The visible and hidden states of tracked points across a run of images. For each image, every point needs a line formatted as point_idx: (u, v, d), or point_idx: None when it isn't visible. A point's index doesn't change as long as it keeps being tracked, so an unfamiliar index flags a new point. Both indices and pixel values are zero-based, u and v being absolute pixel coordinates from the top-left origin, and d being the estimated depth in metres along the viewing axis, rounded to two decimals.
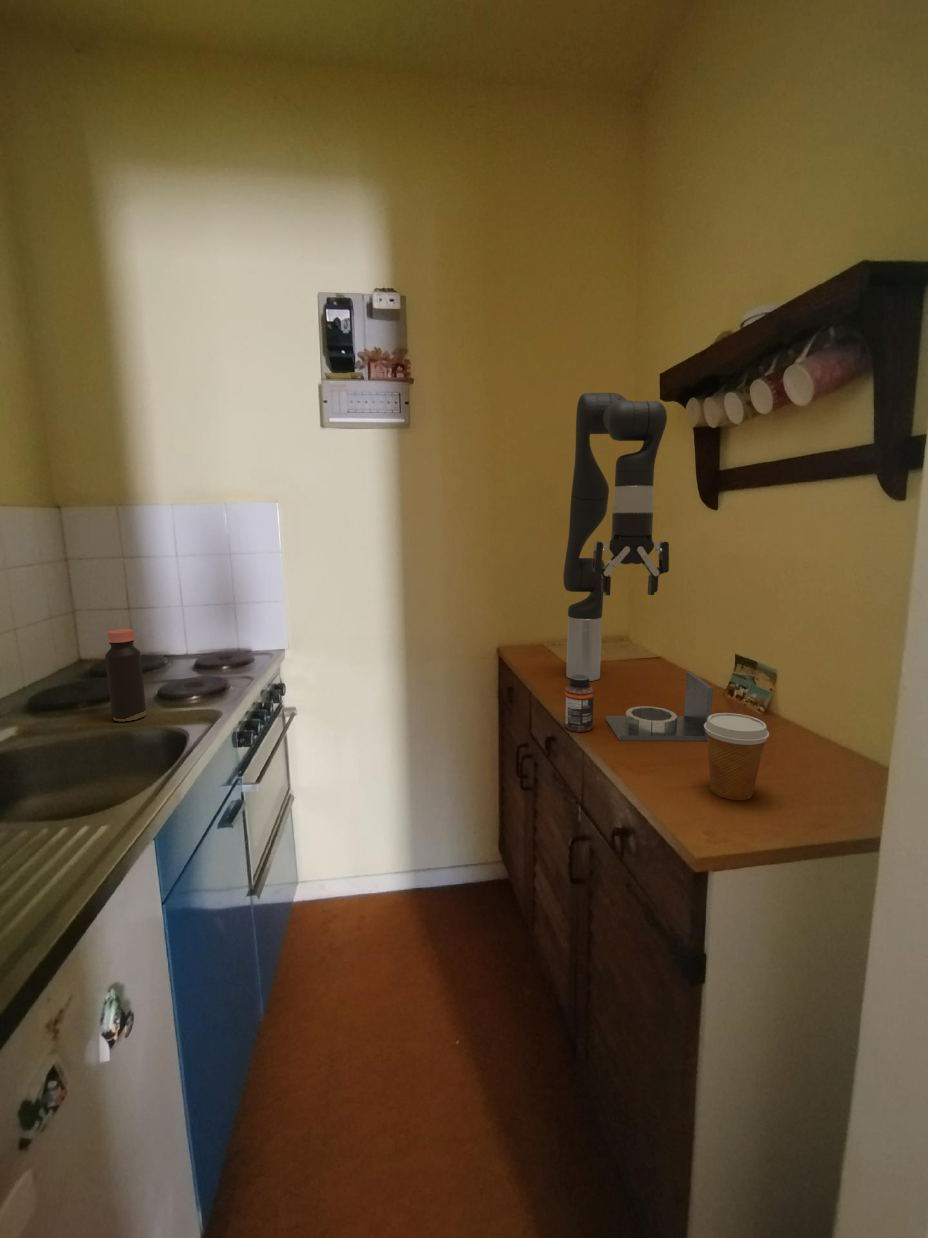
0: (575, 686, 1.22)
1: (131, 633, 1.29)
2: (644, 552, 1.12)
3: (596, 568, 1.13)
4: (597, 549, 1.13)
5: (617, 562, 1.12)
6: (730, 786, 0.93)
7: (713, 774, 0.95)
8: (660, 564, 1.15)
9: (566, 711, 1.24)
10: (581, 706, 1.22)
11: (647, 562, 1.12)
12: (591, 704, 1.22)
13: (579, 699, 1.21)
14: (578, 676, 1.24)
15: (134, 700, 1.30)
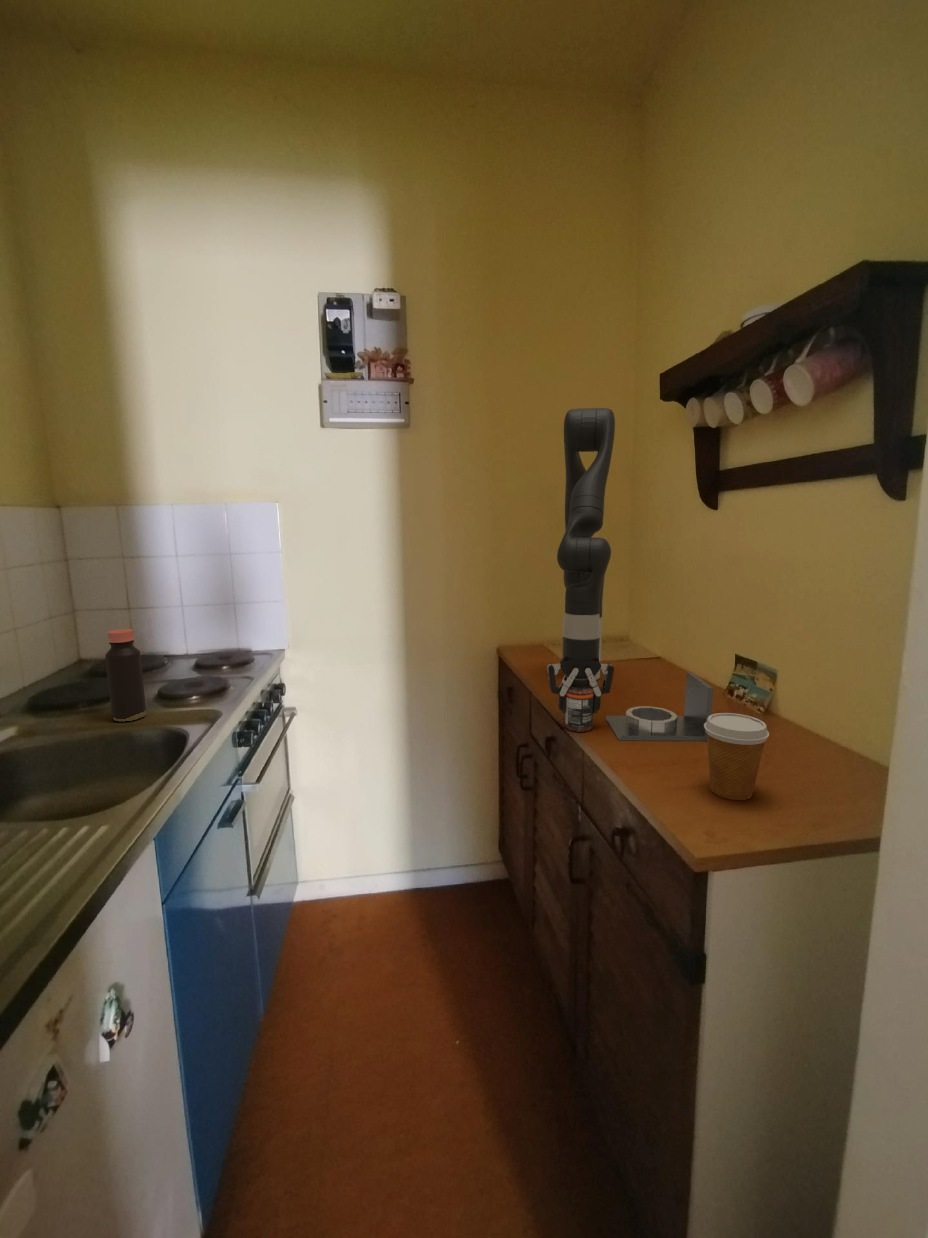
0: (575, 686, 1.22)
1: (131, 633, 1.29)
2: (591, 673, 1.21)
3: (552, 689, 1.23)
4: (549, 673, 1.22)
5: (569, 683, 1.22)
6: (730, 786, 0.93)
7: (713, 774, 0.95)
8: (604, 684, 1.24)
9: (566, 711, 1.24)
10: (581, 706, 1.22)
11: (592, 683, 1.22)
12: (591, 704, 1.22)
13: (579, 699, 1.21)
14: None
15: (134, 700, 1.30)
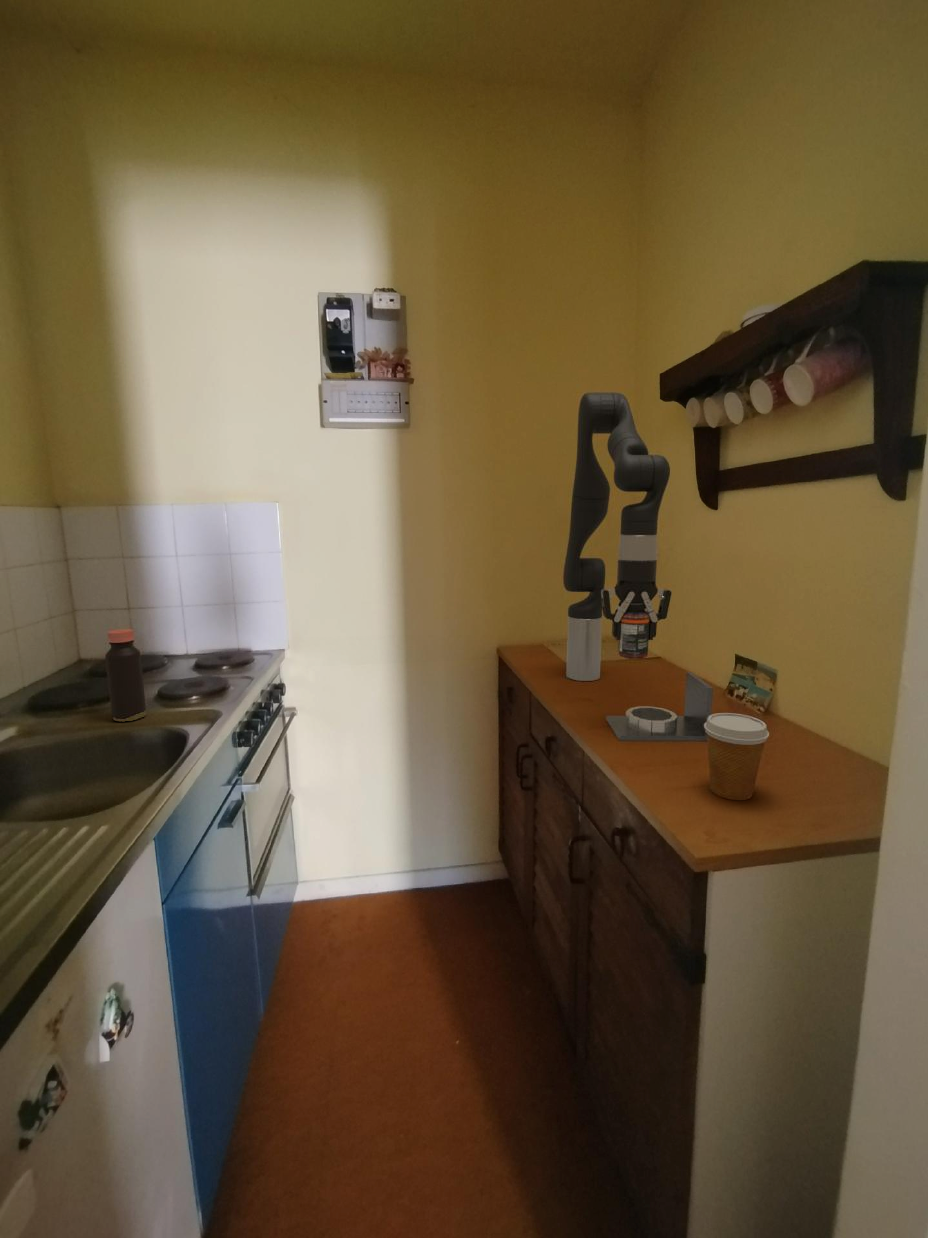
0: (630, 611, 1.18)
1: (131, 633, 1.29)
2: (647, 597, 1.17)
3: (607, 615, 1.19)
4: (604, 597, 1.19)
5: (625, 607, 1.18)
6: (730, 786, 0.93)
7: (713, 774, 0.95)
8: (659, 610, 1.20)
9: (621, 637, 1.20)
10: (637, 631, 1.18)
11: (648, 608, 1.18)
12: (647, 630, 1.19)
13: (634, 624, 1.18)
14: None
15: (134, 700, 1.30)
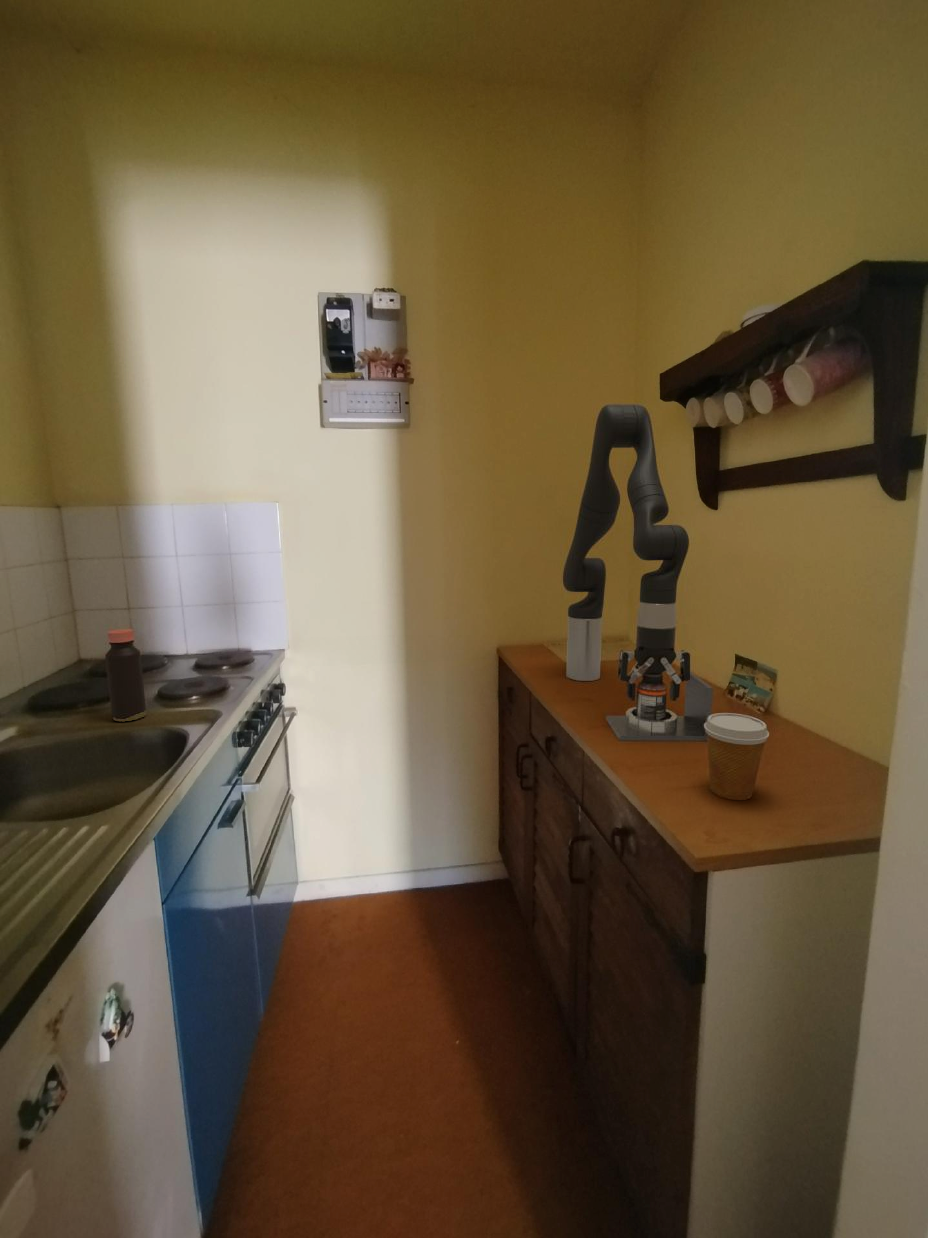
0: (649, 683, 1.21)
1: (131, 633, 1.29)
2: (667, 662, 1.20)
3: (622, 676, 1.21)
4: (623, 659, 1.20)
5: (642, 671, 1.20)
6: (730, 786, 0.93)
7: (713, 774, 0.95)
8: (681, 671, 1.23)
9: (639, 708, 1.22)
10: (655, 703, 1.20)
11: (670, 672, 1.20)
12: (665, 701, 1.21)
13: (653, 696, 1.20)
14: (651, 673, 1.22)
15: (134, 700, 1.30)
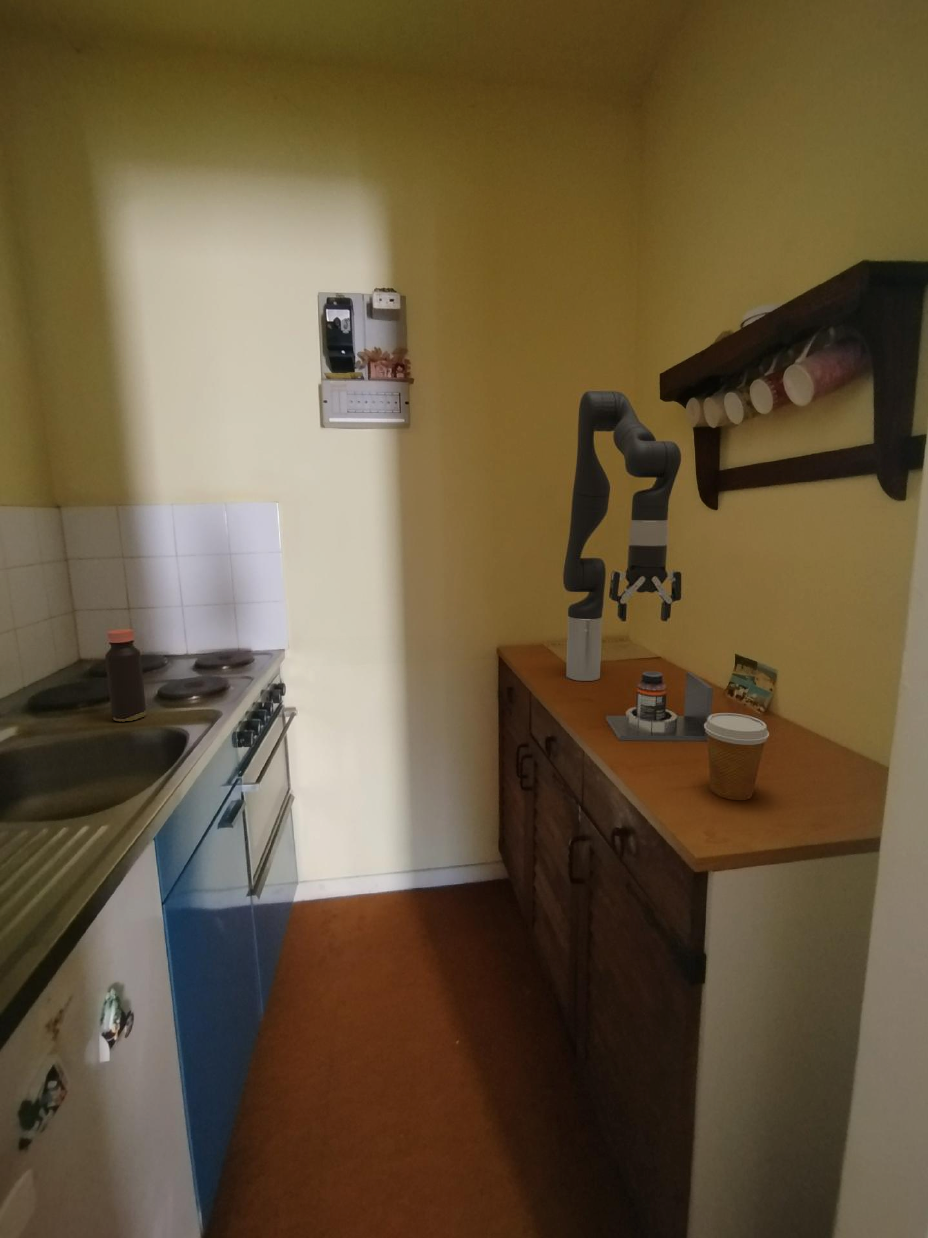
0: (649, 683, 1.21)
1: (131, 633, 1.29)
2: (658, 581, 1.19)
3: (613, 596, 1.21)
4: (614, 578, 1.20)
5: (633, 591, 1.20)
6: (730, 786, 0.93)
7: (713, 774, 0.95)
8: (673, 592, 1.22)
9: (639, 708, 1.22)
10: (655, 703, 1.20)
11: (661, 591, 1.20)
12: (664, 701, 1.21)
13: (653, 696, 1.20)
14: (651, 673, 1.22)
15: (134, 700, 1.30)
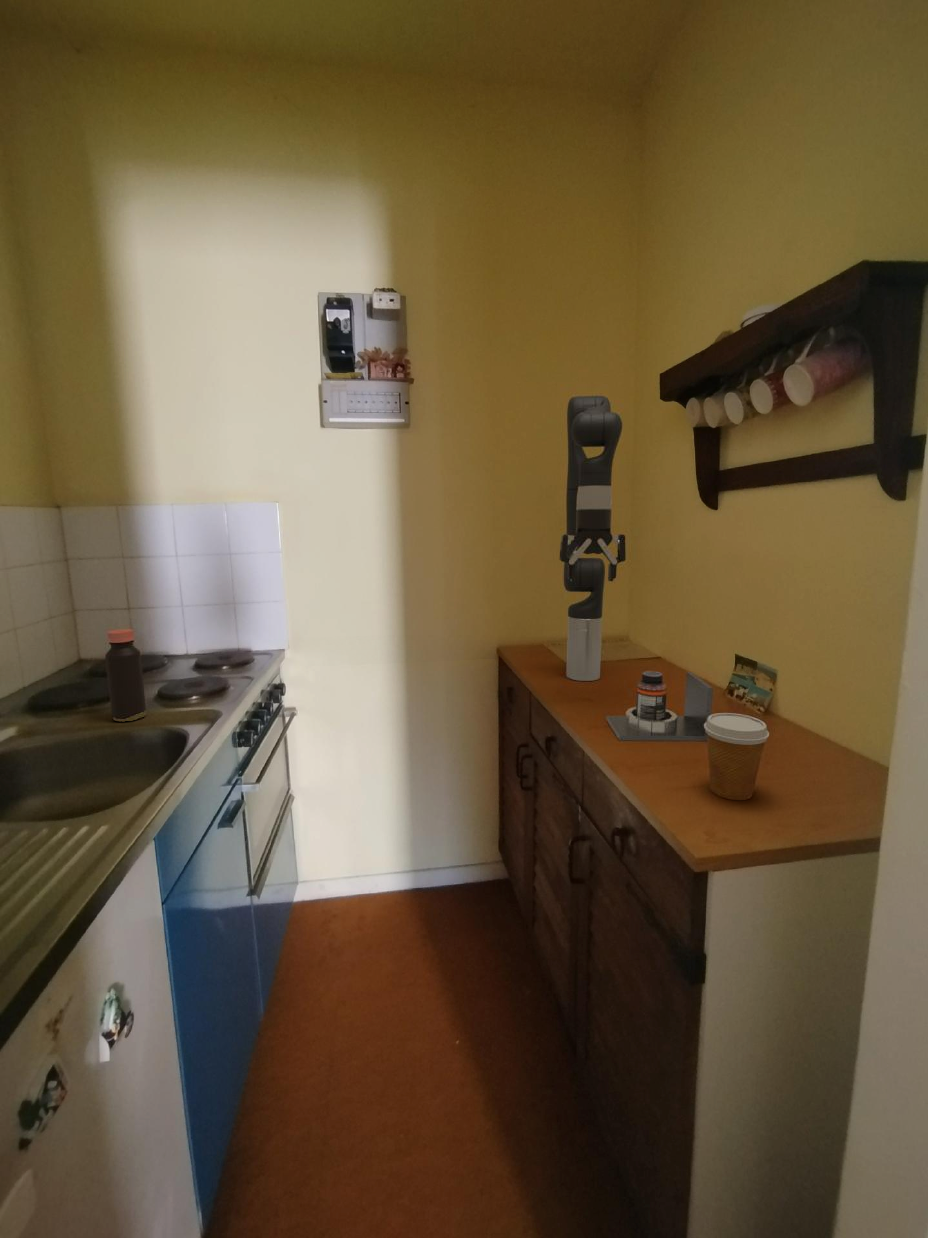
0: (649, 683, 1.21)
1: (131, 633, 1.29)
2: (603, 543, 1.28)
3: (562, 557, 1.30)
4: (563, 541, 1.29)
5: (580, 552, 1.29)
6: (730, 786, 0.93)
7: (713, 774, 0.95)
8: (618, 554, 1.32)
9: (639, 708, 1.22)
10: (655, 703, 1.20)
11: (606, 552, 1.29)
12: (664, 701, 1.21)
13: (653, 696, 1.20)
14: (651, 673, 1.22)
15: (134, 700, 1.30)
